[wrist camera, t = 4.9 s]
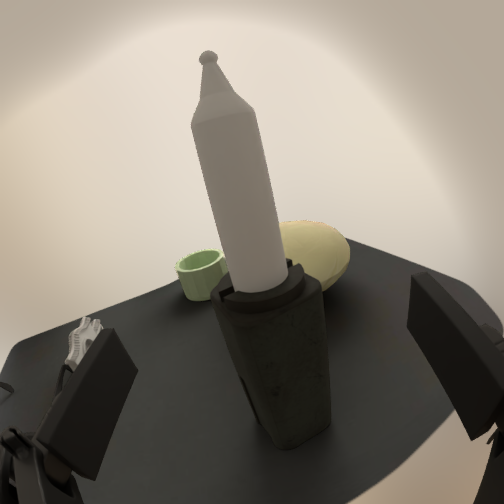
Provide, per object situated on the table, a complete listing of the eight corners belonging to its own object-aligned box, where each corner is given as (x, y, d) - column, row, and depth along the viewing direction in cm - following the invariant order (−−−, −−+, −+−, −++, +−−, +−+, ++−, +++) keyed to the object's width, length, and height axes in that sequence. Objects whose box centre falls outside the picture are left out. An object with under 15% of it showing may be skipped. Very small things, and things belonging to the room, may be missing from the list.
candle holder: (238, 275, 46) (230, 247, 44) (219, 301, 40) (209, 270, 38) (198, 276, 49) (190, 250, 47) (176, 300, 42) (165, 272, 41)
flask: (343, 257, 43) (368, 337, 27) (245, 272, 46) (223, 353, 30) (337, 201, 39) (369, 260, 23) (231, 218, 42) (196, 284, 26)
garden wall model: (99, 337, 36) (81, 304, 34) (109, 334, 37) (91, 301, 34) (86, 393, 25) (58, 356, 23) (97, 390, 26) (71, 353, 24)
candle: (251, 414, 21) (145, 78, 12) (301, 386, 23) (234, 63, 13) (282, 455, 17) (162, 34, 7) (337, 420, 18) (282, 29, 9)
